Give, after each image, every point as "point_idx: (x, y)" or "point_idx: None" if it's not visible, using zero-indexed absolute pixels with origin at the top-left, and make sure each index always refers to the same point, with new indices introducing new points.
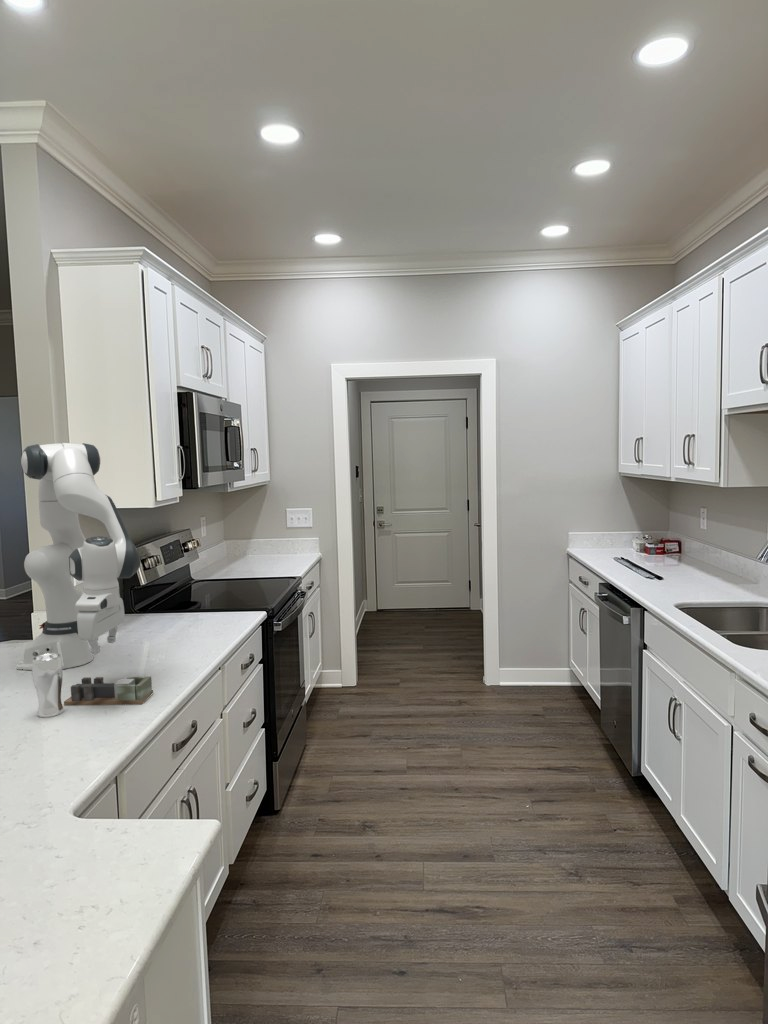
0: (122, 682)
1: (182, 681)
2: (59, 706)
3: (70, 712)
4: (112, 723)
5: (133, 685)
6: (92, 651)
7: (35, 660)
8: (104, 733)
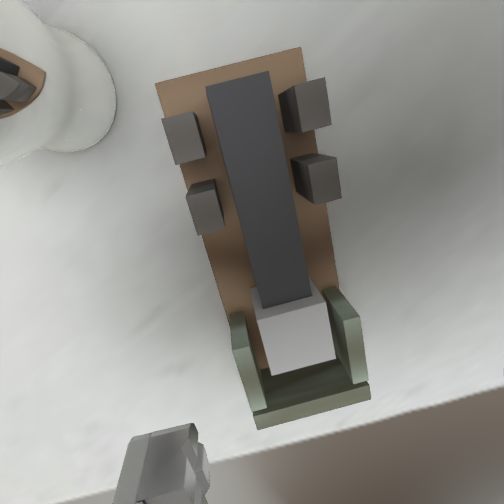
0: (280, 343)
1: (464, 367)
2: (56, 148)
3: (100, 184)
4: (78, 397)
5: (254, 406)
6: (132, 460)
7: None
8: (5, 425)
